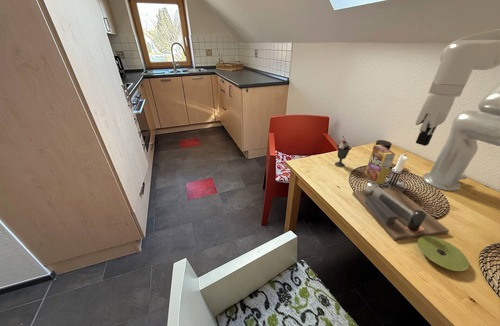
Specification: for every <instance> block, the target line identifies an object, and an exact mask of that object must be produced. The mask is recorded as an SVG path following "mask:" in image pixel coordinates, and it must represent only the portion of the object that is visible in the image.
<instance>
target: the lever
mask: <svg viewBox="0 0 500 326" xmlns="http://www.w3.org/2000/svg"><path fill="white" fill-rule="evenodd" d="M382 189H383V188H381V187H380V184H377V183H376V182H373V181H372V180H370V181H368V182H367V183H366V186H365V189H364V190H365V191H364V193H365V194H366V195H367V196H368V195H376V196H377V197H378V198H379V199H380V200H381V201H382V202H383V203H384V204H385V205H386V206H387V207H388V208H389V209H390V210H391V211H392V212H393V213H394V214H395V215H397V218H398V219H400V220H401V221H402V222H403V223H405V224H406V225H407V227H408V228H409V229H410V230H412V231H418V229H419V227H420V226H421V224H422V222H423V221H424V219H425V217H426V214H425V213H424V212H423V211H420V210H416V211H415V212H413V211H411V210H410V209H408V208H407V207H406V206H404V205H403V204H402V203H400V202H399V201H397V200H396V199H395V198H393V197H392V196H391V195H389V194H388V193H386V192H385V191H384V190H382Z"/></svg>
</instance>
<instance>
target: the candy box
mask: <svg viewBox="0 0 500 326" xmlns="http://www.w3.org/2000/svg"><path fill="white" fill-rule="evenodd" d="M395 157H396V153H394V151H392V150H391V149H390V150H389V149H387V148H386V147H385V146H384V145H375V144H374V145H373V147H372V151H371V153H370V156H369V161H368V163H367V167H366V169H365V172H364V174H365V175H366V176H367V177H368V178H369V179H370V181H372V182H376V183H377V184H378V185H382V184H381V183H385V181H386V179H387V176H388V174H389V172H390V169H391V168H392V167H391V166H392V165H393V161H394V158H395Z"/></svg>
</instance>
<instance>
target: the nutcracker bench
mask: <svg viewBox="0 0 500 326" xmlns="http://www.w3.org/2000/svg"><path fill="white" fill-rule="evenodd" d="M381 189H382V190H384V191H385V192H386V193H388V194H389V195H391V196H392V197H393V198H395V199H396V200H397V201H399V202H400V203H402V204H403V205H404V206H406V207H407V208H408V209H410V210H411V211H413V212H415V211H416V210H420V211H423V212H424V213H425V214H426V217H425V219H424V221H423V222H422V224H421V226H420V227H419V229H418V231H412V230H410V229H409V228H408V227H407V225H406V224H405V223H403V222H402V221H401V220H400V219H398V218H397V215H395V214H394V213H393V212H392V211H391V210H390V209H389V208H388V207H387V206H386V205H385V204H384V203H383V202H382V201H381V200H380V199H379V198H378V197H377V196H376V195H368V196H367V195H366V194H365V193H364V191H365V189H364V190H363V189H362V190H354V191H352V196H353V197H354V198H355V199H356V200H357V201H358V202H359V204H360V205H361V206H362V207H363V209H364V210H366V212H368V213H369V214H370V216H371V217H372V218H373V220H375V221H376V222H377V223H378V225H379V226H380V227H381V228H382V229H383V230H384V231H385V232H386V234H387V235H388V236H389V237H390V238H391V239H392V240H393V241H401V240H408V239H409V240H411V239H416V238H417V239H419V238H420V237H423V236H432V237H435V236H439V235H447V234H448V233H449V232H450V229H448V228H447V227H446V226H445V225H444V224H442V223H441V222H440V221H439V220H437V219H436V218H434V217H433V216H432V215H431V214H429V213H428V212H427V211H426V210H424V208H422V207H421V206H419V204H417V203H416V202H415V201H413V200H412V199H411V198H409V197H408V196H407V195H406V194H404V193H403V192H402V191H401V190H399V189H398V188H397V187H396V186H395V187H385V188H381Z"/></svg>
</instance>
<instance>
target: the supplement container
mask: <svg viewBox="0 0 500 326" xmlns="http://www.w3.org/2000/svg"><path fill="white" fill-rule="evenodd" d="M374 145H384V146H385V147H386V148H387V149H389V150H390V151H391V147H392V142H390V141H387V140H382V139H378V140H376V142H375V144H374Z"/></svg>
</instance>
